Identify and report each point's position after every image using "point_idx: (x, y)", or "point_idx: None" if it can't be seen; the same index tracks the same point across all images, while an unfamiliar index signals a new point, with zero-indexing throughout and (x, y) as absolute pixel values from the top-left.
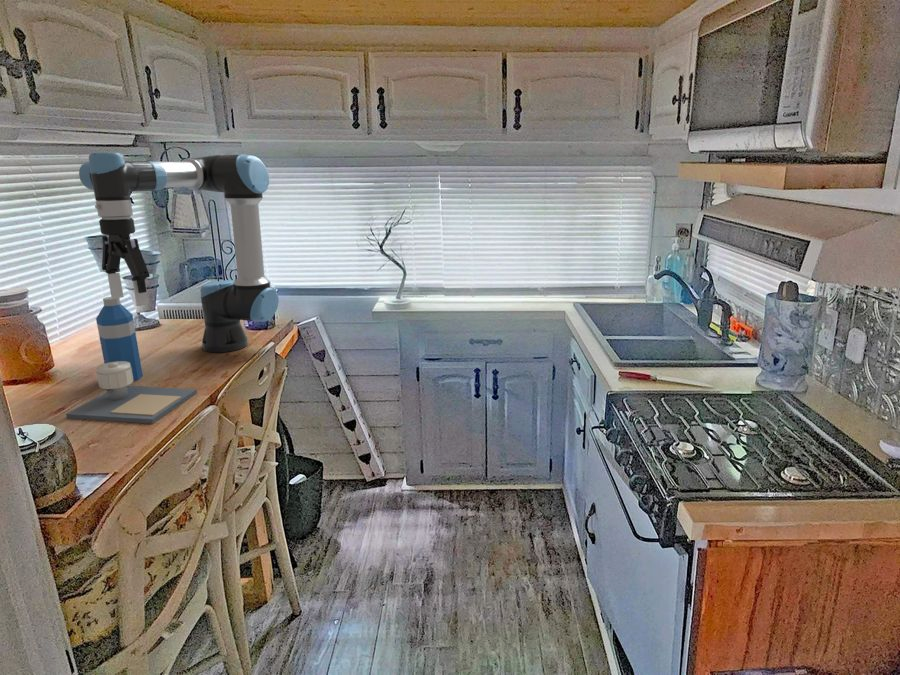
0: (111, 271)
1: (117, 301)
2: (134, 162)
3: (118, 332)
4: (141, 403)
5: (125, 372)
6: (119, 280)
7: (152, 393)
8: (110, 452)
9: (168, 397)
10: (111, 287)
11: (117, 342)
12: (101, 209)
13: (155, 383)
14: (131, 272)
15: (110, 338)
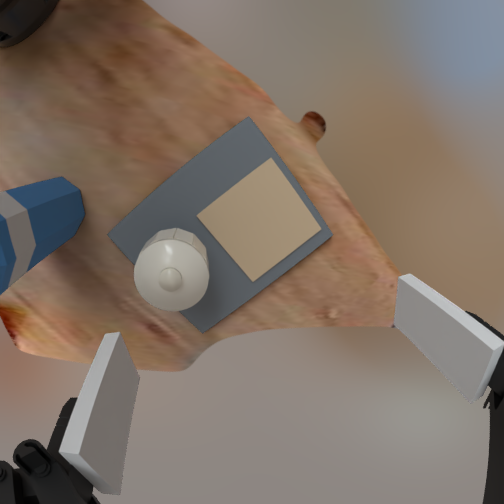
0: (83, 491)
1: None
2: None
3: (26, 246)
4: (251, 228)
5: (205, 257)
6: (96, 413)
7: (204, 193)
8: (369, 300)
9: (259, 178)
10: (129, 422)
11: (40, 243)
12: None
13: (122, 165)
14: (495, 433)
15: (30, 261)
